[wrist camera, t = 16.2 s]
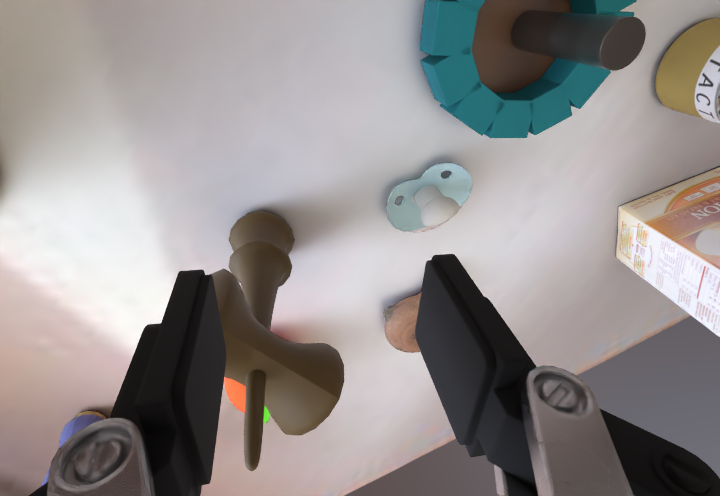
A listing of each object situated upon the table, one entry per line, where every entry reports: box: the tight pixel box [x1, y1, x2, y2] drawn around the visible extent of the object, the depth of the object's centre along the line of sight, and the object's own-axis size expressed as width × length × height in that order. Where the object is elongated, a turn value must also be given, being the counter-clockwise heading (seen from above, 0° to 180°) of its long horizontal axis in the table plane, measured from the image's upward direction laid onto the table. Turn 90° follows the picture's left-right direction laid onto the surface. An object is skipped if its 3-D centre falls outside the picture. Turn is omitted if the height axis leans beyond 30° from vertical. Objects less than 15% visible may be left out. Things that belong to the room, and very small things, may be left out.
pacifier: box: [386, 162, 472, 232], centre depth 32 cm, size 7×6×6 cm
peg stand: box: [472, 0, 645, 93], centre depth 24 cm, size 9×9×10 cm
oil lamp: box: [384, 292, 421, 353], centre depth 40 cm, size 9×4×8 cm
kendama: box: [210, 211, 344, 471], centre depth 25 cm, size 6×10×20 cm, turn 40°
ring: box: [419, 0, 636, 138], centre depth 26 cm, size 13×13×3 cm
